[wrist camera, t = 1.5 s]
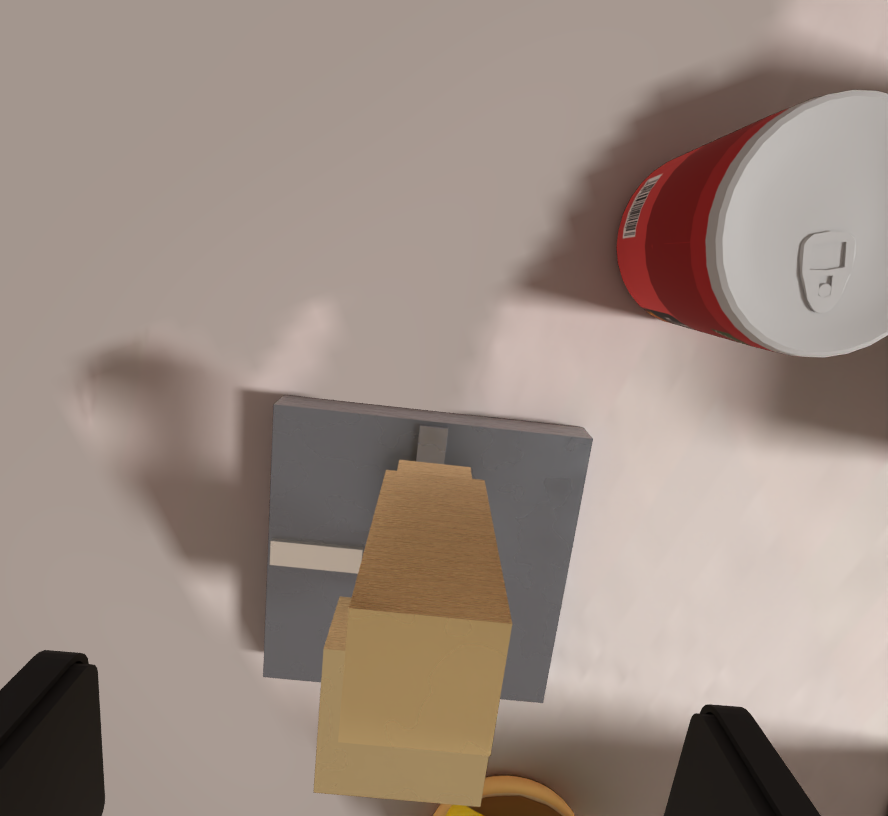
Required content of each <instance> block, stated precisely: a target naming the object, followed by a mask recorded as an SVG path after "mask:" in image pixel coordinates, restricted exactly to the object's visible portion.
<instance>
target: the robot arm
mask: <svg viewBox="0 0 888 816" xmlns="http://www.w3.org/2000/svg"><path fill="white" fill-rule="evenodd" d="M104 804H105V791H104V774H103V757H102V738H101V722H100V704H99V685H98V671H97V667H96V666H95V665H91V664H89V663H88V658H87V657H86V655H85V654H82V653H74V652H73V653H72V652H61V651H49V650H44V651H42V652H39V653H38V654H36V655H35V656H34V657H33V658H32V659H31V660H30V661H29V662H28V663H27V664H26V665H25V666H24V667H23V668H22V669H21V670H20V671H19V672H18V673H17V674H16V675H15V676H14V677H13V678H12V679H11V680H10V681H9V682H8V683H7V684H6V685H5V686H4V687H3V688H2V689H1V690H0V816H102V813H103V809H104ZM664 816H821V815H820V814H819V812H818V811H817V810H816V808H815V807H814V805H813V804H812V802H811V801H810V799H809V798H808V796H807V795H806V794H805V792H804V791H803V789H802V788H801V786H800V785H799V783H798V782H797V781H796V779H795V778H794V776H793V775H792V773H791V772H790V770H789V769H788V767H787V766H786V765H785V763H784V762H783V760H782V759H781V757H780V756H779V754H778V753H777V752H776V750H775V749H774V747H773V746H772V744H771V743H770V741H769V740H768V738H767V737H766V736H765V734H764V733H763V731H762V730H761V728H760V727H759V725H758V724H757V722H756V721H755V720H754V718H753V717H752V715H751V714H750V713H749V712H748V711H747V710H746V709H744V708H742V707H734V706H722V705H705V706H704V707H703V708H702V710H701V712H700V714H694V715H693V716H692V718H691V720H690V724H689V727H688V731H687V735H686V738H685V742H684V745H683V749H682V753H681V756H680V760H679V763H678V767H677V770H676V774H675V778H674V781H673V785H672V788H671V792H670V796H669V799H668V803H667V806H666V810H665V813H664Z"/></svg>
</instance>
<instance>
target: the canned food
mask: <svg viewBox="0 0 888 816" xmlns="http://www.w3.org/2000/svg"><path fill="white" fill-rule="evenodd" d="M617 259H618V265H619V269H620V272H621V276H622V280H623V281H624V283H625V285H626V287H627V289H628V291H629V293H630V295H631V296H632V297H633V298H634V300H635V301H636V302H637V303H638V305H639V306H641V307H642V308H643V309H644V310H646V311H647V312H648V313H649V314H651V315H653V316H655V317H657V318H659V319H661V320H663V321H666V322H669V323H673V324H676V325H680V326H683V327H687V328H690V329H694V330H697V331H701V332H704V333H708V334H711V335H715V336H718V337H722V338H725V339H729V340H732V341H736V342H739V343H743V344H746V345H750V346H753V347H757V348H761V349H765V350H769V351H773V352H778V353H782V354H786V355H790V356H802V357H830V356H836V355H842V354H848V353H851V352H853V351H856V350H859V349H862V348H864V347H867V346H870V345H872V344H873V343H875V342H877V341H879V340H880V339H882V338H884V337H886V336H887V335H888V94H887V93H883V92H880V91H868V90H849V91H844V92H839V93H833V94H828V95H825V96H820V97H815V98H812V99H810V100H808V101H805V102H803V103H800V104H798V105H795V106H792V107H790V108H788V109H785V110H783V111H780V112H778V113H775V114H773V115H770V116H768V117H766V118H764V119H761V120H759V121H757V122H755V123H753V124H750V125H748V126H746V127H744V128H742V129H739V130H737V131H735V132H733V133H730V134H728V135H726V136H724V137H722V138H719V139H717V140H715V141H713V142H711V143H708V144H706V145H704V146H702V147H699V148H697V149H695V150H693V151H691V152H688V153H686V154H684V155H682V156H680V157H677V158H675V159H673V160H671V161H668V162H667V163H665V164H664V165H662V166H661V167H659V168H658V169H656V170H655V171H653V172H652V173H651V174H650V175H649V176H648V177H647V178H646V179H645V180H644V181H643V182H642V183H641V184H640V186H639V187H638V189H637V190H636V191H635V193H634V194H633V196H632V197H631V199H630V201H629V203H628V205H627V207H626V209H625V211H624V213H623V216H622V220H621V223H620V227H619V230H618V238H617Z"/></svg>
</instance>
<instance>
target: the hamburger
mask: <svg viewBox="0 0 888 816" xmlns="http://www.w3.org/2000/svg"><path fill="white" fill-rule="evenodd" d="M433 816H575V815H574V813H573V811H572V810H571V809H570V807H569V806H568V805H567V804H566V802H565V801H564V800H563V799H562V798H561V797H559V796H558V795H557V794H556V793H555V792H554V791H552V790H551V789H549V788H548V787H546V786H544V785H543V784H540V783H538V782H535V781H533V780H530V779H526V778H522V777H517V776H505V775H504V776H491V777H486V778H485V782H484V788H483V794H482V800H481V806H480V807H475V806H463V805H452V804H440V805H439V807H438V808H437V810H436V812H435V813H434V815H433Z"/></svg>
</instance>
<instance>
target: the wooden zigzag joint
mask: <svg viewBox="0 0 888 816" xmlns="http://www.w3.org/2000/svg"><path fill="white" fill-rule="evenodd" d="M511 629H512V620H511V615H510V609H509V604H508V599H507V594H506V589H505V583H504V578H503V573H502V568H501V563H500V558H499V552H498V547H497V542H496V537H495V532H494V526H493V521H492V516H491V511H490V506H489V501H488V495H487V490H486V485H485V480H479V479H472V474H471V467H464V466H454V465H445V464H435V463H426V462H417V461H407V460H399V464H398V468H397V471H394V470H386V472H385V475H384V479H383V483H382V487H381V490H380V494H379V498H378V501H377V505H376V509H375V513H374V516H373V520H372V524H371V527H370V531H369V535H368V539H367V542H366V546H365V550H364V553H363V557H362V561H361V565H360V568H359V572H358V576H357V580H356V583H355V587H354V591H353V594H352V598H350V597H339V600H338V603H337V606H336V610H335V613H334V616H333V620H332V623H331V626H330V629H329V633H328V636H327V639H326V642H325V646H324V649H323V664H322V678H321V692H320V707H319V721H318V736H317V750H316V764H315V780H314V792H315V793H325V794H337V795H348V796H360V797H371V798H383V799H394V800H406V801H417V802H429V803H440V804H452V805H463V806H475V807H480V806H481V800H482V794H483V788H484V782H485V776H486V770H487V764H488V757H489V756H491V749H492V743H493V737H494V731H495V725H496V719H497V713H498V707H499V701H500V695H501V689H502V683H503V677H504V671H505V665H506V659H507V653H508V647H509V641H510V635H511Z"/></svg>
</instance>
